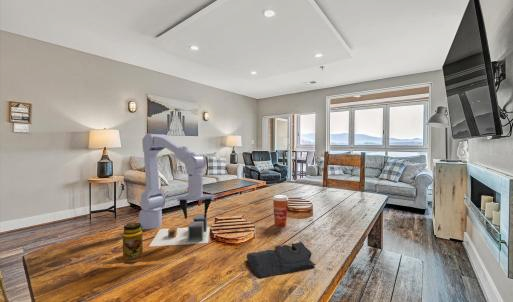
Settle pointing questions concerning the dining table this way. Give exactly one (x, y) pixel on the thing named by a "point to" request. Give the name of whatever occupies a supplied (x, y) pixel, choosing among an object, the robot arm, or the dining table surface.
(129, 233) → the condiment
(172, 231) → the letter cube
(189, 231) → the left cover
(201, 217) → the right cover
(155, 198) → the robot arm
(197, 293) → the dining table surface
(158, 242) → the board
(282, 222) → the paper cup
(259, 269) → the folded black cloth
